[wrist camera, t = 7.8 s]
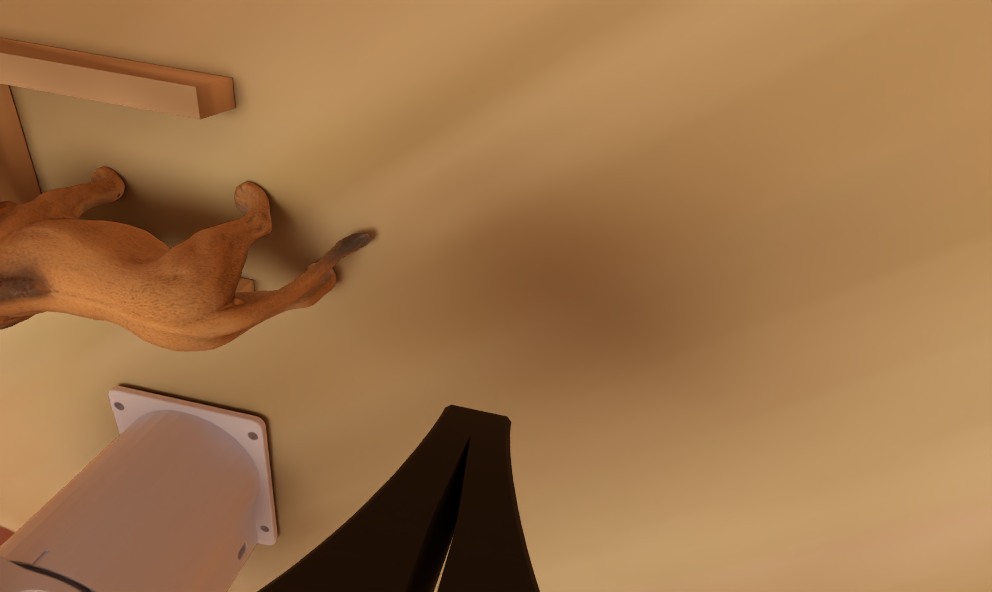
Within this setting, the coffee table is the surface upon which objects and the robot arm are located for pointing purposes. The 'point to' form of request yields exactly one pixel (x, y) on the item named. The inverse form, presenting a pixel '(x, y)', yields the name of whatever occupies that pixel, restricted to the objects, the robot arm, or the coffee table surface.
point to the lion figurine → (145, 268)
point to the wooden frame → (3, 151)
